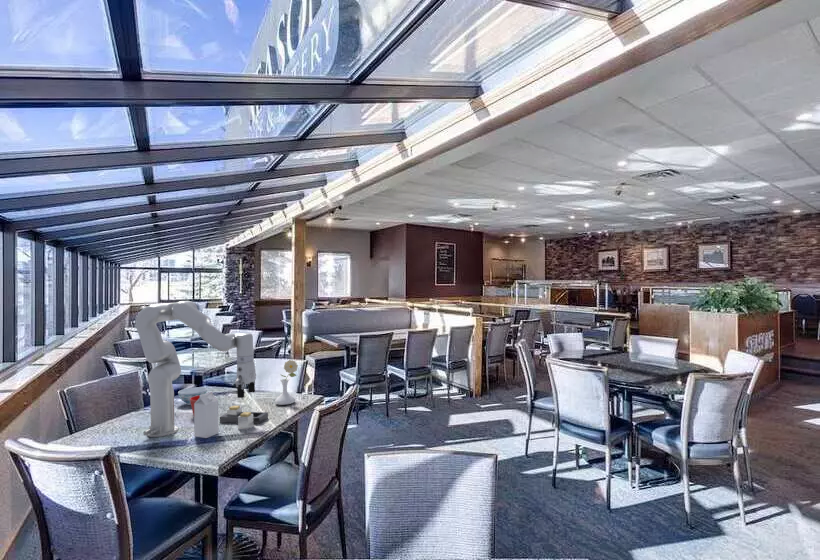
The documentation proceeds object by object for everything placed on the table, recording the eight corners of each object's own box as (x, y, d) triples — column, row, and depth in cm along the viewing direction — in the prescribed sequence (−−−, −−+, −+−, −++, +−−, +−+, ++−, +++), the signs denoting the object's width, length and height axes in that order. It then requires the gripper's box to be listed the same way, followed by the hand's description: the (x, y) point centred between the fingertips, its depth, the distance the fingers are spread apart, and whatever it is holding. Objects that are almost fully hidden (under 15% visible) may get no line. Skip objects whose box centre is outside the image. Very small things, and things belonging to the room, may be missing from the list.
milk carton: (194, 436, 190) (193, 394, 190) (207, 431, 197) (206, 391, 197) (206, 438, 188) (205, 396, 188) (218, 433, 194) (218, 392, 194)
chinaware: (174, 404, 245) (174, 390, 245) (200, 398, 256) (200, 385, 256) (184, 408, 235) (184, 394, 235) (211, 402, 246) (211, 389, 246)
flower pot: (193, 420, 214) (192, 401, 214) (188, 415, 223) (188, 396, 223) (215, 415, 221) (215, 397, 221) (209, 411, 229) (209, 393, 229)
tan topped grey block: (236, 422, 210) (236, 408, 210) (227, 421, 211) (227, 407, 211) (241, 419, 215) (241, 405, 215) (232, 418, 216) (232, 405, 216)
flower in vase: (273, 407, 234) (273, 362, 235) (275, 401, 246) (274, 359, 246) (298, 405, 238) (297, 361, 238) (298, 400, 249) (298, 357, 249)
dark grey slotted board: (259, 424, 206) (259, 418, 206) (219, 422, 209) (219, 416, 209) (268, 418, 215) (268, 412, 215) (230, 417, 218) (229, 411, 218)
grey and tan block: (248, 429, 198) (247, 414, 198) (238, 429, 199) (238, 414, 199) (253, 426, 203) (253, 411, 203) (243, 425, 204) (243, 411, 204)
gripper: (242, 362, 193) (244, 399, 192) (261, 355, 210) (262, 390, 209) (227, 362, 194) (228, 399, 193) (247, 356, 211) (248, 390, 211)
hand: (246, 394), depth 201 cm, fingers open, 9 cm apart
